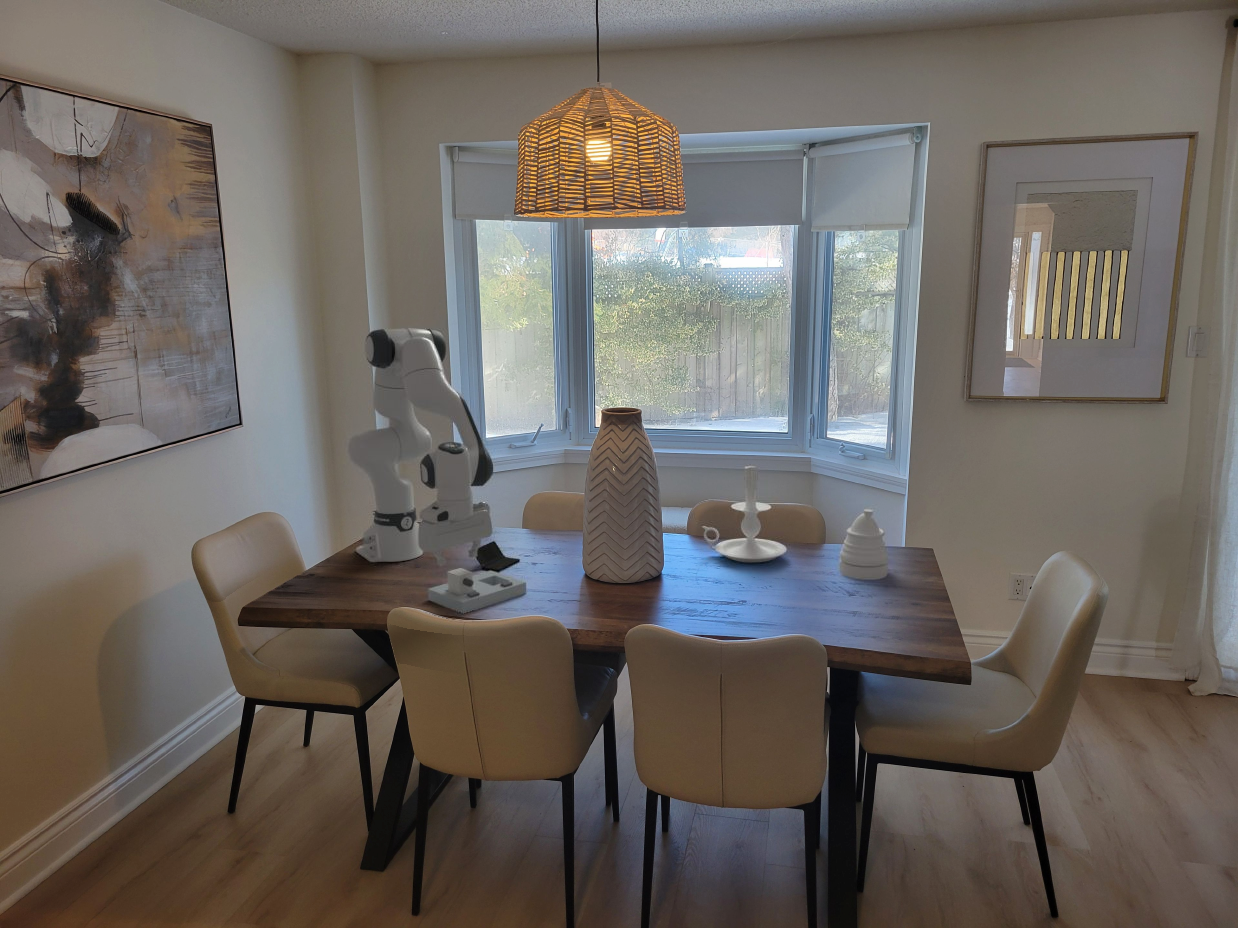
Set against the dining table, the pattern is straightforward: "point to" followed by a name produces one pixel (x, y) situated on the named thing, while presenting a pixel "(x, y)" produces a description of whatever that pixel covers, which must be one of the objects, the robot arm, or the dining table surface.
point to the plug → (460, 582)
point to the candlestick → (748, 529)
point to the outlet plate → (479, 592)
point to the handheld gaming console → (494, 558)
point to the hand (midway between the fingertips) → (457, 561)
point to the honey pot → (864, 550)
